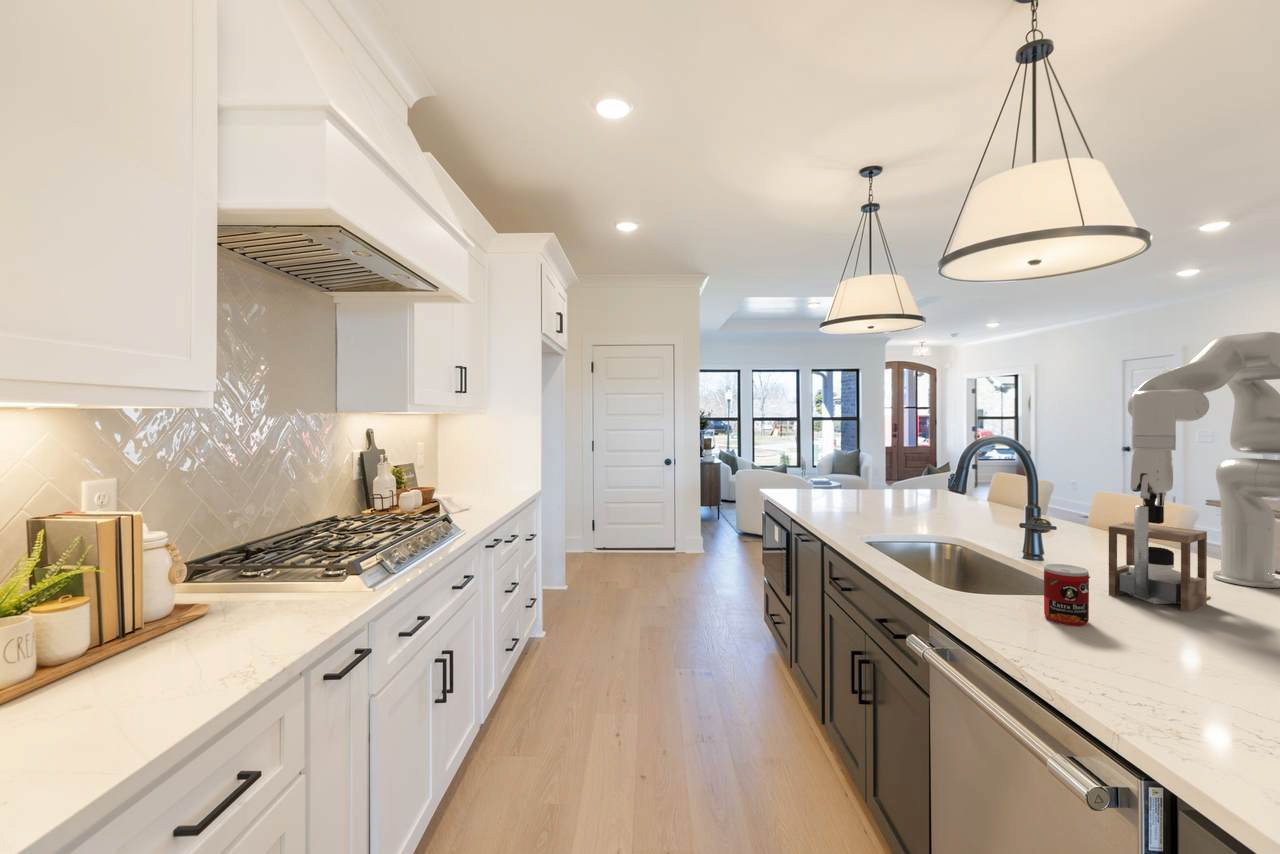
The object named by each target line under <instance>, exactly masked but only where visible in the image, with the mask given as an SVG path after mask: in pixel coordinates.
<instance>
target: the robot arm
mask: <svg viewBox="0 0 1280 854" xmlns="http://www.w3.org/2000/svg"><path fill="white" fill-rule="evenodd" d="M1269 380H1280V332H1276V331H1261V332H1251V333H1250V332H1249V333H1243V334H1233V335H1226V336H1225V335H1224V336H1221V337H1217V338H1216V339H1214V340H1212V341H1211V342H1209V344H1207V345H1206V346H1205V347H1204V348H1203V349H1201V351H1199V352H1198V354H1196V355H1195V356H1194V357H1193V359H1191V360H1190V361H1189V362H1188V363H1186V364H1184V365H1181V366H1179V367H1175V368H1173V369H1170V370H1167V371H1165V372H1163V373H1161V374H1158V375H1155V376H1153V377H1152V378H1149V379H1148V380H1146V381H1144V382H1143V383H1142V384H1141V385H1140V386H1139V387H1137V388H1136V389H1135V390H1134V392H1133V393H1132V394H1131V396H1130V397H1129V400H1128V402H1127V411H1128V413H1129V415H1130V416H1131V419H1132V420H1131V421H1132V423H1131V424H1132V425H1131V427H1132V431H1131V434H1132V436H1131V439H1132V441H1131V443H1132V444H1131V449H1132V450H1133V455H1132V458H1131V459H1132V460H1131V471H1130V490H1131V491H1132V492H1134V493H1138V492H1140V495H1139V496H1140V498H1141V499H1142V506H1148V524H1158V525H1159V524H1160V525H1161V524H1164V522H1165V510H1164V509H1165V506H1164V505H1165V498H1166V495H1167V492H1170V491H1171V490H1172V489H1173V487H1174V465H1173V454H1172V452H1173V451H1176V449H1177V447H1176V444H1177V441H1176V439H1177V438H1176V437H1177V435H1176V434H1177V433H1176V430H1177V425H1176V423H1177V422H1194V421H1197V420H1200V419H1201V418H1203V417H1205V415H1206V414H1207V413H1208V412H1209V409H1210V401H1209V398H1208V397H1207V395H1206V393H1209V392H1210V393H1211V392H1213V391H1216V390H1219V389H1221V388H1222V387H1224V386H1225V385H1228V387H1229V389H1230V391H1231V392H1232V395H1233V399H1234V406H1233V414H1232V419H1231V425H1230V426H1231V428H1230V433H1229V442H1230V446H1231V447H1232V449H1233V450H1234V451H1236V452H1239V453H1241V454H1242V453H1244V454H1252V455H1273V456H1274V455H1275V456H1280V393H1279V391H1278V390H1277V389H1275V387H1273V386H1272V385H1271V384H1269V383H1268V382H1267V381H1269ZM1215 480H1216V484H1217V487H1218V492H1219V497H1220V498H1219V499H1220V570H1216V571H1213V572H1212V577H1213V578H1214V579H1216V580H1219V581H1222V582H1225V583H1229V584H1232V585H1233V584H1234V585H1239V586H1246V587H1252V588H1253V587H1254V588H1255V587H1256V588H1264V589H1278V588H1280V578H1277V577H1276V569H1275V568H1276V516H1275V513H1274V511H1273V509H1272V507H1271V506H1270V505H1269V504H1268V503H1267V502H1266V501H1265V499H1264V498H1272V499H1280V459H1273V458H1272V459H1271V458H1270V459H1269V458H1255V457H1253V458H1251V457H1237V458H1236V457H1234V458H1229V459H1226V460H1223V461H1222V462H1220V463H1219V464H1218V466H1217V468H1216V470H1215ZM1268 573H1269V574H1268ZM1272 574H1275V575H1272Z"/></svg>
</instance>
